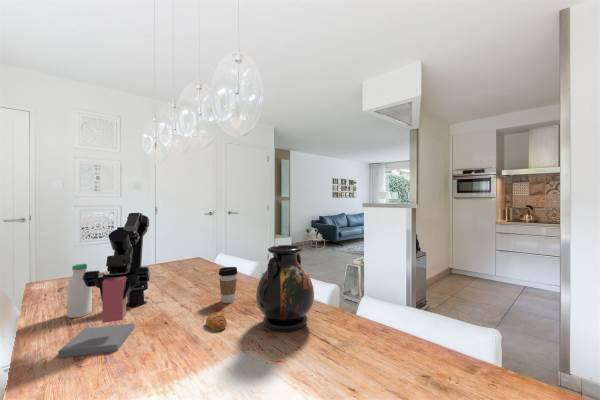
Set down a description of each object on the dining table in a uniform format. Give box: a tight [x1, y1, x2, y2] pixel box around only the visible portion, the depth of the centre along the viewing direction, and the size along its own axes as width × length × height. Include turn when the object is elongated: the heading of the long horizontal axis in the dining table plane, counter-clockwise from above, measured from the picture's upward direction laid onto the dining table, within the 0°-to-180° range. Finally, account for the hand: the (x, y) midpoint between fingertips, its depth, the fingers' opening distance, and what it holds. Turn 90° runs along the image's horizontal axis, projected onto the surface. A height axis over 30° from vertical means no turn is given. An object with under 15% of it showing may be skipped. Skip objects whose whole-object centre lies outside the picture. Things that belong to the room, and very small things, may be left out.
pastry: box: [205, 312, 228, 332], centre depth 100 cm, size 9×7×4 cm
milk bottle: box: [66, 263, 93, 319], centre depth 111 cm, size 8×8×20 cm
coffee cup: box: [218, 266, 238, 304], centre depth 126 cm, size 8×8×15 cm
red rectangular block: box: [101, 276, 127, 324], centre depth 90 cm, size 4×6×13 cm
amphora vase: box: [255, 244, 315, 332], centre depth 102 cm, size 22×22×28 cm
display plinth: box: [58, 323, 135, 359], centre depth 89 cm, size 15×15×2 cm
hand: (113, 299), depth 89 cm, fingers closed on red rectangular block, 5 cm apart
